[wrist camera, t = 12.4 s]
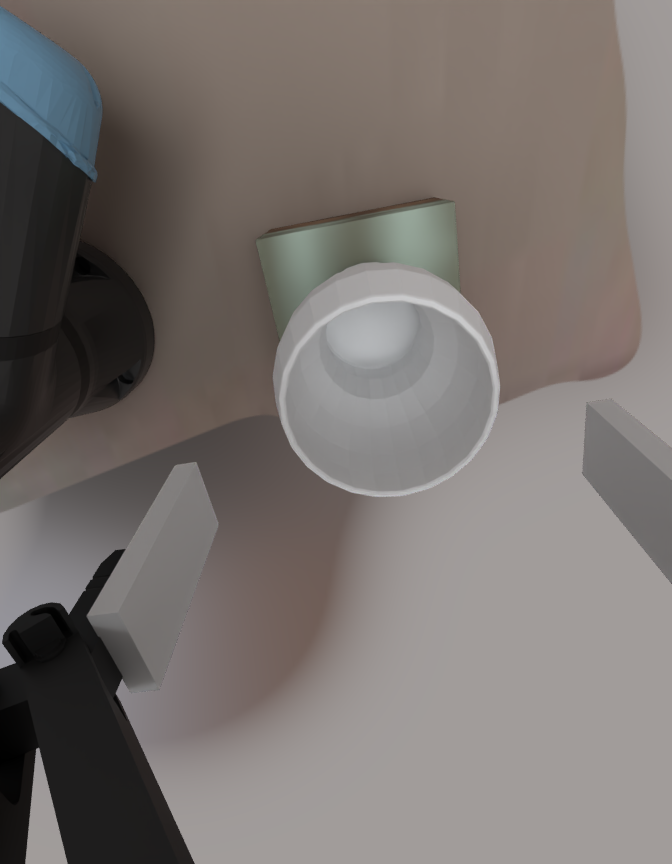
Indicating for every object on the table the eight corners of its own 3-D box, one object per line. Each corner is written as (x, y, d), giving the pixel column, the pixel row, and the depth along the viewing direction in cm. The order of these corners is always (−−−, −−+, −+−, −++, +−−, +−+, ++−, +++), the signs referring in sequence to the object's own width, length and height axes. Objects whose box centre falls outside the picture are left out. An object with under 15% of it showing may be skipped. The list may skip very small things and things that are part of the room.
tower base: (304, 379, 45) (297, 416, 38) (271, 229, 39) (255, 240, 32) (446, 355, 44) (466, 389, 37) (434, 197, 38) (454, 201, 31)
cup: (439, 223, 32) (510, 253, 18) (453, 376, 36) (517, 489, 23) (279, 256, 33) (234, 307, 19) (313, 400, 37) (296, 522, 24)
